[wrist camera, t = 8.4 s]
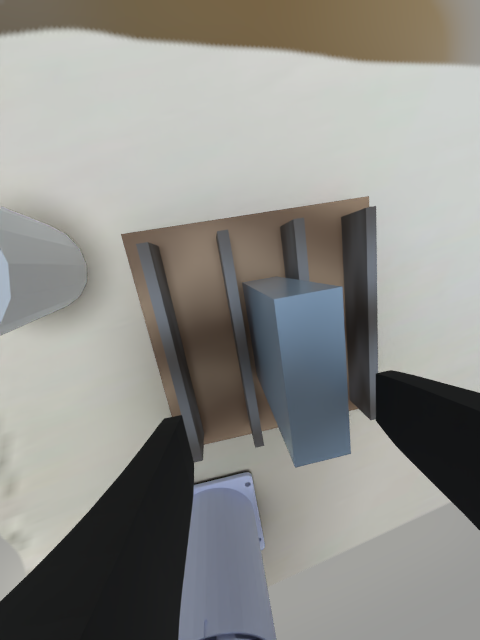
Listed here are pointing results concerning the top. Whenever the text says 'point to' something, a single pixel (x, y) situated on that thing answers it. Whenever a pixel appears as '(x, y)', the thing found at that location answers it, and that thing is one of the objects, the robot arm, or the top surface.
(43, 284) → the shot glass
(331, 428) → the block
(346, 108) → the top surface
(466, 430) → the robot arm
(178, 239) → the rack
